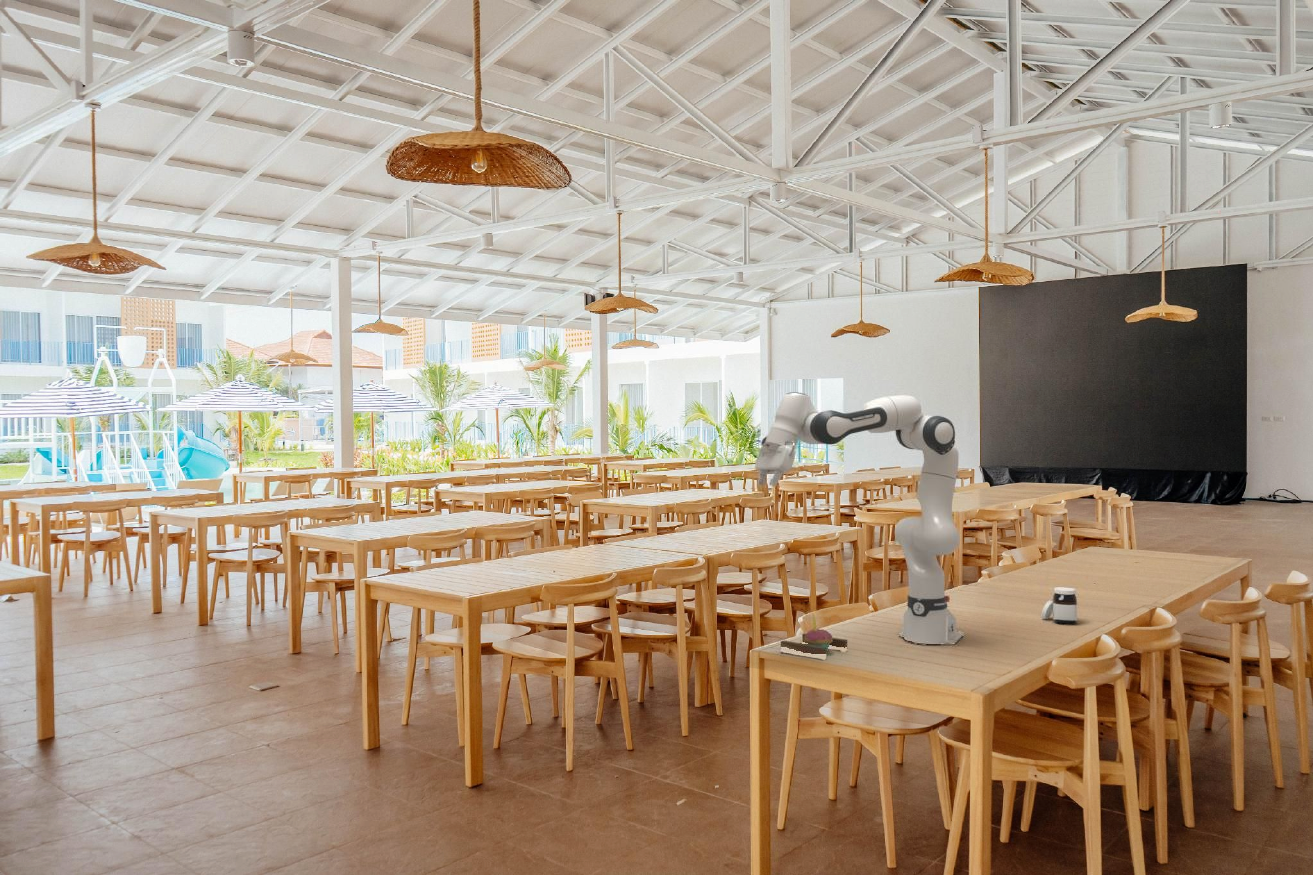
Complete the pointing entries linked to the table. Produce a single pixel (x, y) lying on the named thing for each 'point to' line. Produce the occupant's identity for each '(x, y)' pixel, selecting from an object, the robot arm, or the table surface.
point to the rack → (812, 646)
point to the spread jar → (1062, 606)
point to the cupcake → (818, 637)
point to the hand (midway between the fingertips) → (766, 485)
